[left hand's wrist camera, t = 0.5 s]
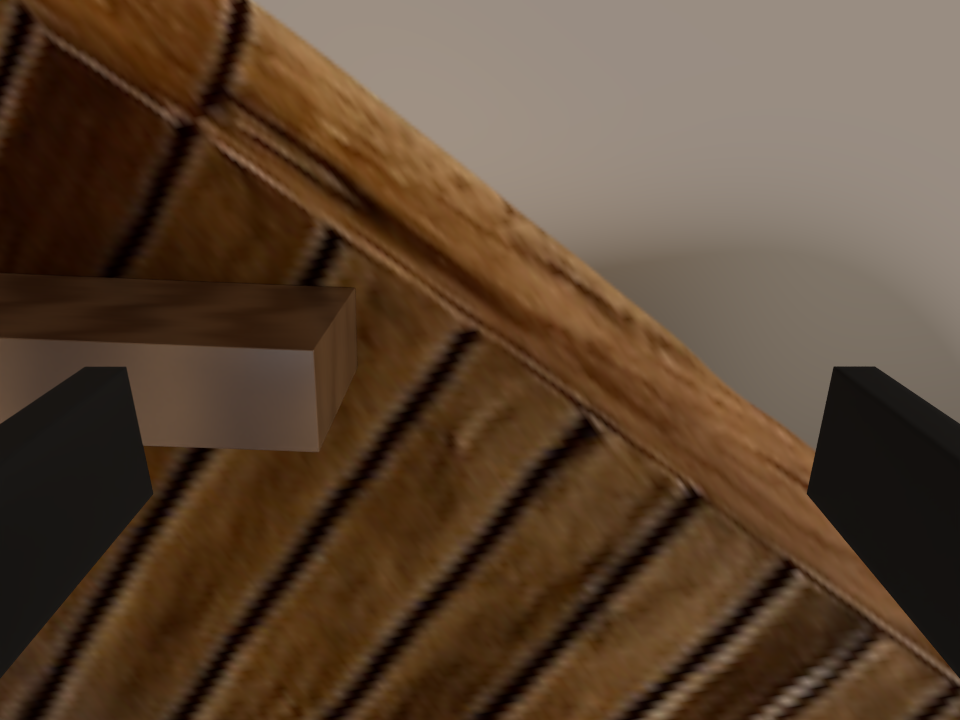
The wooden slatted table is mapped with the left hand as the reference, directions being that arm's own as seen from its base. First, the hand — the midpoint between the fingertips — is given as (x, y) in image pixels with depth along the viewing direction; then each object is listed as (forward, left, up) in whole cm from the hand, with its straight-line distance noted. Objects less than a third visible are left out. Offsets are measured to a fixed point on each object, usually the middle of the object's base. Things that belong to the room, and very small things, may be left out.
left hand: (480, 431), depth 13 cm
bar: (-16, +16, -23) cm, 32 cm away
